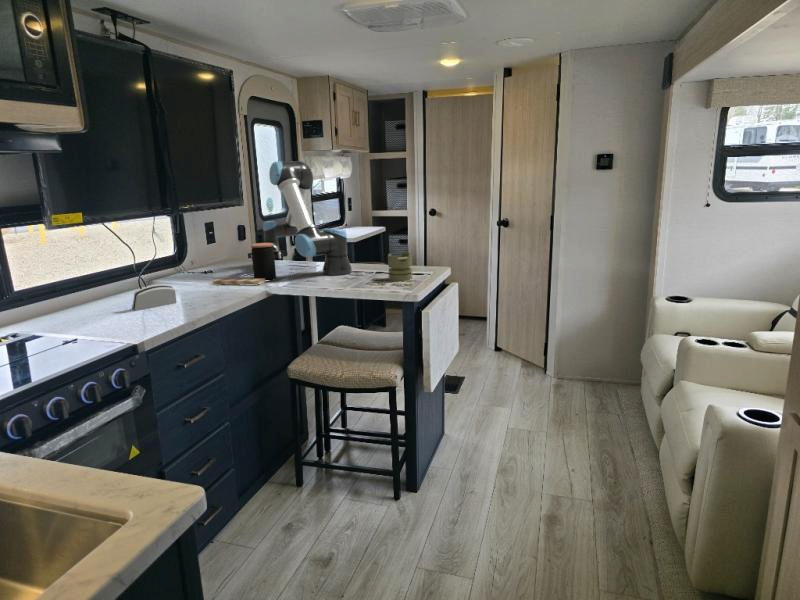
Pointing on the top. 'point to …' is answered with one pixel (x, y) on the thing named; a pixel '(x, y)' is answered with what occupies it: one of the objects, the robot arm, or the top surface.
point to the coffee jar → (263, 261)
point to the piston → (400, 267)
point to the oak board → (238, 281)
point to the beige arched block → (153, 297)
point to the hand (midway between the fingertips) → (265, 257)
